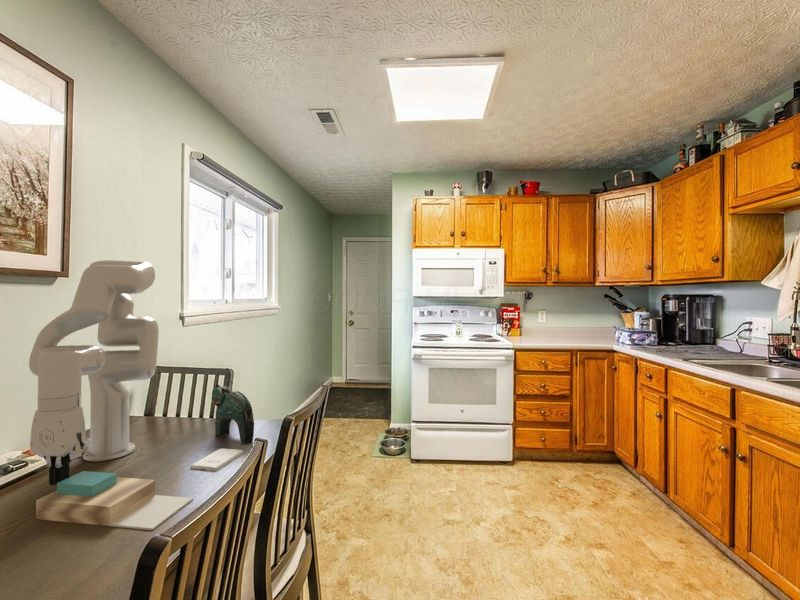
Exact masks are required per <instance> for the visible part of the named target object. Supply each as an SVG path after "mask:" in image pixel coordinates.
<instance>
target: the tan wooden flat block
mask: <svg viewBox="0 0 800 600" xmlns="http://www.w3.org/2000/svg"><path fill="white" fill-rule="evenodd" d="M154 495H156V480H155V479H147V478H146V479H145V478H135V477H121V476H120V477H119V476H117V484H115V485H113V486H111V487H110V488H108V489H106V490H104V491H102V492H100V493H98V494H97V495H95V496H93V497H88V496H76V495H65V494H57V490H55V491H53V492H51V493H49V494H47V495H44V496H43V497H40V498H38V499H36V500H35V501H36V502H35V504H36V505H35V520H41V521H43V520H45V521H52V522H64V523H72V522H73V524H81V525H82V524H85V525H93V526H104V527H105V526H106V527H111V526H110V524H111V523H112V522H114V521H116V520H117V519H119V518H120V517H122V516H123V515H125V514H126V513H128V512H130V511H131V510H133V509H134V508H136V507H137V506H139V505H140V504H142V503H144V502H145V501H147V500H148V499H150V498H151V497H153V496H154Z"/></svg>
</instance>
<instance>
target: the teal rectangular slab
mask: <svg viewBox="0 0 800 600" xmlns="http://www.w3.org/2000/svg"><path fill="white" fill-rule="evenodd" d="M117 475H118V473H115V472H113V473H112V472H104V471H103V472H102V471H101V472H100V471H88V470H87V471H86V470H82V471H80V472H78V473H76V474H73V475H71V476H69V478H67V479H65V480H63V481H60V482H58V483H57V485H56V491H57V494H65V495H76V496H88V497H93V496H95V495H97V494H98V493H100V492H102V491H104V490H106V489H108V488H110V487H111V486H113V485H115V484H117V477H118V476H117Z"/></svg>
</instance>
